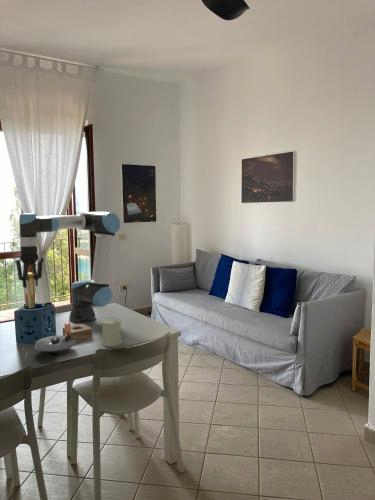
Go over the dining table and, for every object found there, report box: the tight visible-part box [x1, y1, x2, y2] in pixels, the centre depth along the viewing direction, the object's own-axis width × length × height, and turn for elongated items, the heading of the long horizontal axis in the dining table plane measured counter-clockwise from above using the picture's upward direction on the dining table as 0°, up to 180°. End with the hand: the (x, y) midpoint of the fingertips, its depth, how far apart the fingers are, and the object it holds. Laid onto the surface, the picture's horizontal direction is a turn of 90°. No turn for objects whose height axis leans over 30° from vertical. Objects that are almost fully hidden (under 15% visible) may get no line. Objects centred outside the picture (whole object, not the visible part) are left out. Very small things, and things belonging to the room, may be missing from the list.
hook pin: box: [27, 271, 35, 309], centre depth 199 cm, size 4×4×17 cm
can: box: [101, 318, 122, 348], centre depth 202 cm, size 9×9×12 cm
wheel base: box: [48, 351, 63, 355], centre depth 191 cm, size 6×6×3 cm
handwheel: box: [34, 322, 76, 353], centre depth 190 cm, size 18×18×8 cm
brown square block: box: [62, 323, 93, 343], centre depth 211 cm, size 11×11×5 cm
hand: (30, 293), depth 199 cm, fingers closed on hook pin, 3 cm apart
